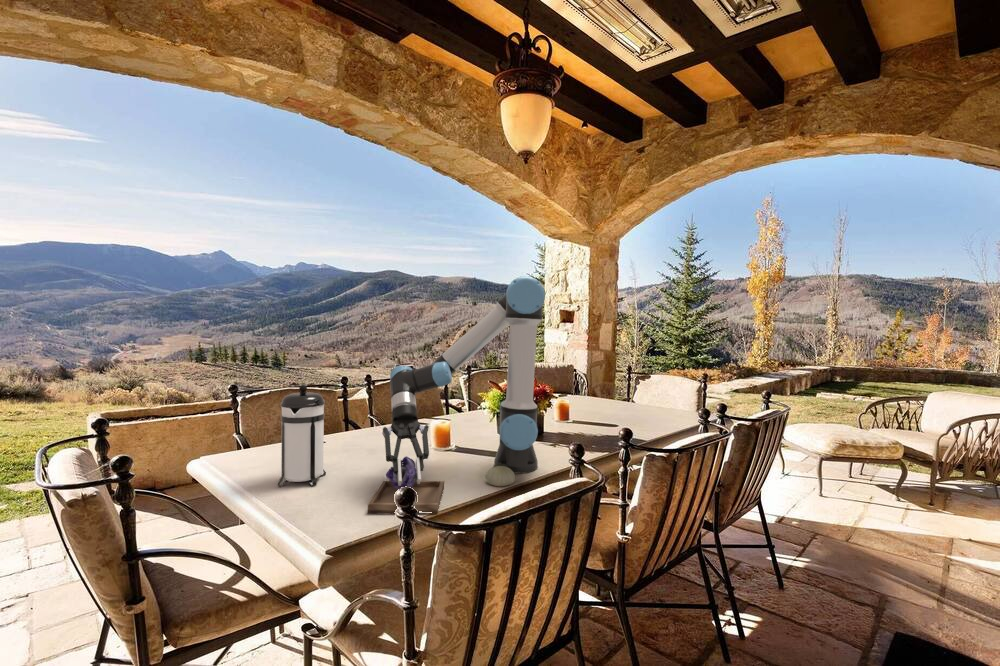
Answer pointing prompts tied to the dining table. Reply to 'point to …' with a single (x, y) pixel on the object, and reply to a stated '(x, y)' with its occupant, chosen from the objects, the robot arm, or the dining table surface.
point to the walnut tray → (425, 490)
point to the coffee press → (302, 437)
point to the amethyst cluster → (404, 474)
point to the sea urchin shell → (500, 476)
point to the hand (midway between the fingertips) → (409, 482)
